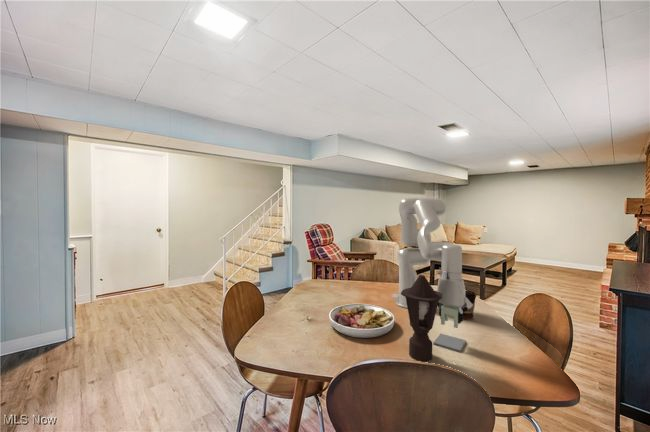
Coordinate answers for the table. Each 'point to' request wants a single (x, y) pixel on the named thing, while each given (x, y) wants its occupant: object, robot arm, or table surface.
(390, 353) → the table surface
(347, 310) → the bowl
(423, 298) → the lantern
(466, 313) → the coffee cup
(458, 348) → the felt pad
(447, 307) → the notched sage block
